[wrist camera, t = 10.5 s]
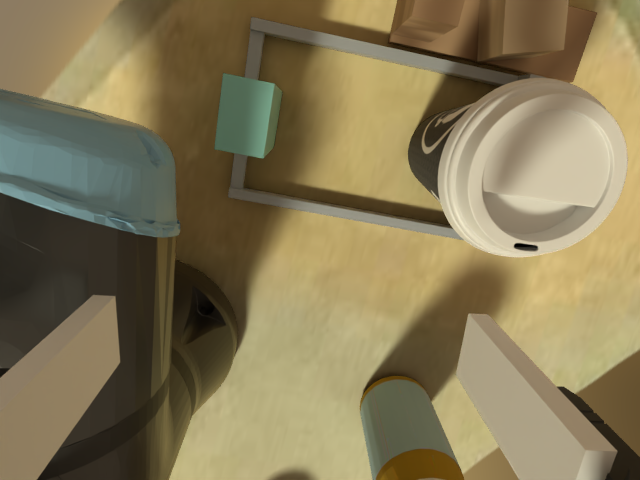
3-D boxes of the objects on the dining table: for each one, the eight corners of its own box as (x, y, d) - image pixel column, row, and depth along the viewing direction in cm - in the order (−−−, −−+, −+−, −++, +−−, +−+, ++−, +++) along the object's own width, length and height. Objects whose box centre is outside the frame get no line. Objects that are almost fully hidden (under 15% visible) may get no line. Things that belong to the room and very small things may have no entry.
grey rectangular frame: (230, 194, 35) (205, 221, 26) (253, 20, 31) (233, -16, 22) (474, 239, 37) (526, 277, 28) (525, 80, 33) (603, 68, 24)
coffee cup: (368, 171, 34) (412, 212, 20) (433, 67, 32) (535, 30, 18) (457, 226, 36) (557, 300, 22) (525, 131, 34) (686, 143, 20)
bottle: (344, 405, 41) (366, 558, 27) (392, 359, 40) (440, 495, 26) (393, 439, 43) (438, 602, 29) (441, 396, 42) (512, 545, 27)
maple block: (477, 61, 31) (502, 54, 27) (479, 0, 30) (506, -17, 26) (530, 57, 31) (564, 49, 27) (535, -4, 30) (571, -22, 26)
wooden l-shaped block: (388, 42, 32) (409, 24, 25) (404, -30, 30) (431, -70, 24) (566, 82, 33) (631, 75, 26) (590, 15, 31) (664, -11, 25)
